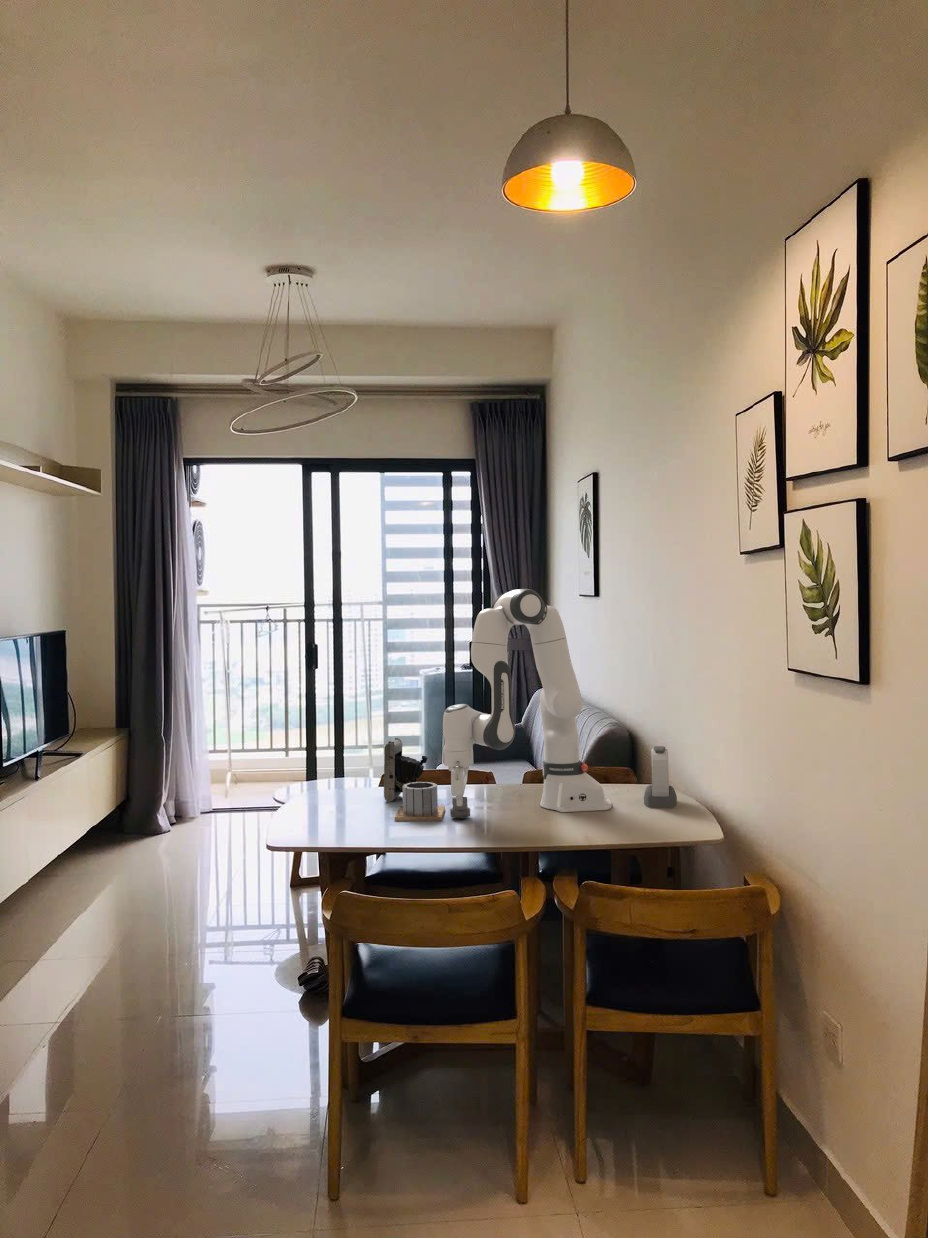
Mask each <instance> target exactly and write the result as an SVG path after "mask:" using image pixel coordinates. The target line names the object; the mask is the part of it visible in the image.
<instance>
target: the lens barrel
mask: <svg viewBox="0 0 928 1238" xmlns="http://www.w3.org/2000/svg"><path fill="white" fill-rule="evenodd" d="M406 783H407V782H406ZM406 783H403V784H402V785H403V786H402V787H403V792H402V805H401V806H400V807H399V809H398V810H397V812H396V814H395V815H394V822H441V821H442V820H443V817H444V815H445V811H446V805H438V802H439V800H438V784H437V783H435V782H428V781H416V782H413V783H411V782H409V783H407V784H406Z"/></svg>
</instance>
